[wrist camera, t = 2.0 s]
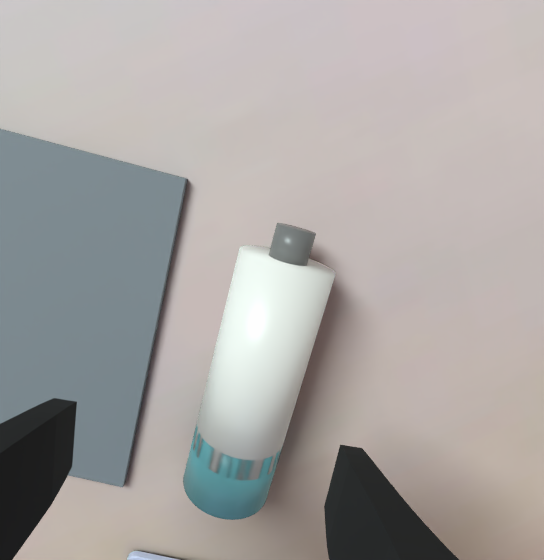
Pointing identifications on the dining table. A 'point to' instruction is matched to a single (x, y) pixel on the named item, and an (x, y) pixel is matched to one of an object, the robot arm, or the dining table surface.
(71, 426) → the robot arm
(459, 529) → the dining table surface
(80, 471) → the mat
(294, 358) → the bottle
